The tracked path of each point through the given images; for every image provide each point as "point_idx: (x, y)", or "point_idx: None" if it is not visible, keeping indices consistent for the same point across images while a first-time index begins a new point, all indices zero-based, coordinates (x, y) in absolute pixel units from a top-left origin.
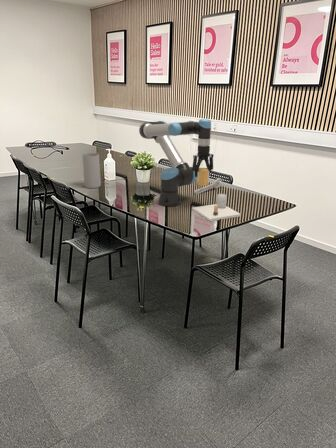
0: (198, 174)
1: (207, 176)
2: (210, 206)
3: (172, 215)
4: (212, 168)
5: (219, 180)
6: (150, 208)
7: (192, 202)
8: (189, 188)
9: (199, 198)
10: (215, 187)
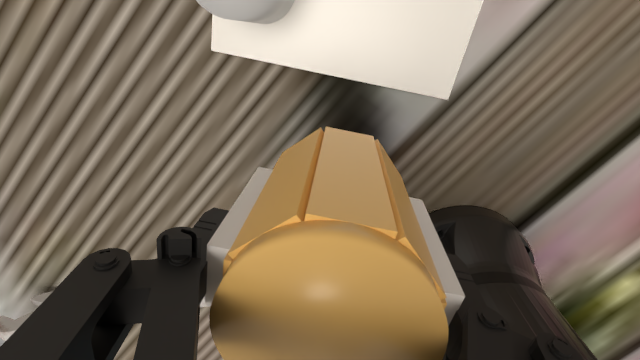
0: (438, 262)
1: (294, 176)
2: (325, 40)
3: (636, 83)
4: (106, 261)
5: (20, 321)
6: (611, 251)
7: None
8: (208, 354)
9: None
10: None
